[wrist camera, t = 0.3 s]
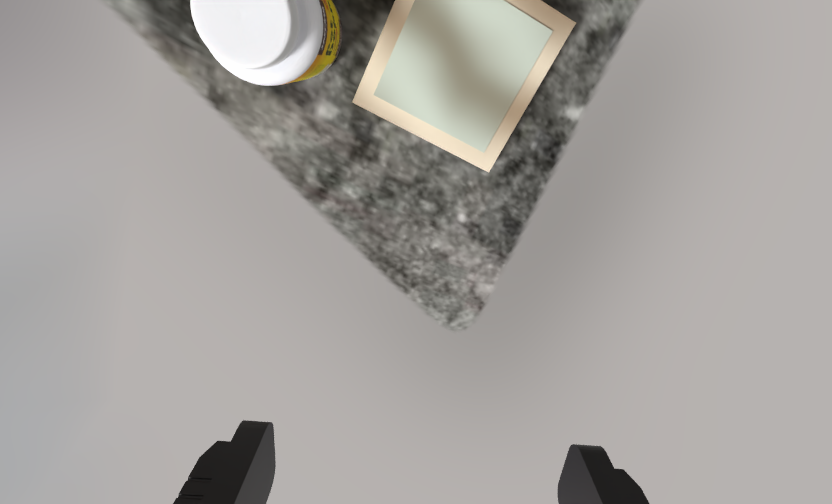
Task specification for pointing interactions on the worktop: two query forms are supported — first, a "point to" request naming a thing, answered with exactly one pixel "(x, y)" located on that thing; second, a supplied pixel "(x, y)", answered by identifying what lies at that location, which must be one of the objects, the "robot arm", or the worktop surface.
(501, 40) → the birch block
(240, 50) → the supplement bottle
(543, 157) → the worktop surface
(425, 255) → the worktop surface
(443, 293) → the worktop surface
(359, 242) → the worktop surface
